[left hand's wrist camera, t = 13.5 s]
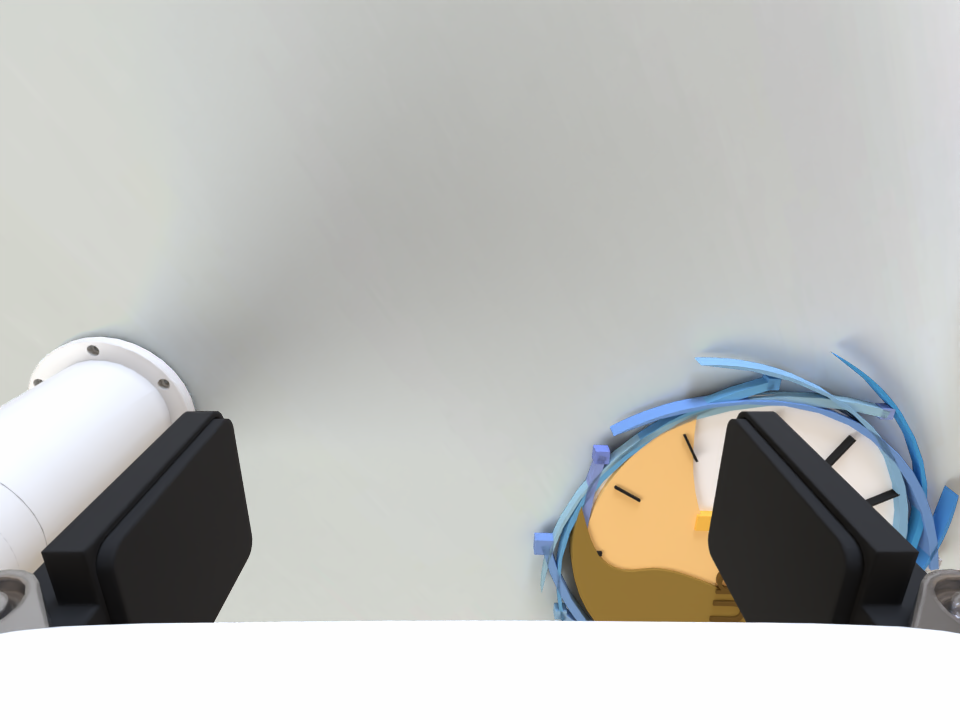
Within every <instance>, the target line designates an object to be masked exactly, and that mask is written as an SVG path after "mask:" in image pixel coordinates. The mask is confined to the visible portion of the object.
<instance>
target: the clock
mask: <svg viewBox="0 0 960 720" xmlns="http://www.w3.org/2000/svg"><path fill="white" fill-rule="evenodd" d="M831 353H832V352H831ZM833 354H834V353H833ZM834 355H835V356H836V357H838V358H839V359H840V360H841V361H843V362H844V363H845V364H846V365H848V366H849V367H850V368H851V369H853V370H854V371H855V372H856V373H858V374H859V375H860V376H861V377H863V378H864V380H865V381H866V382H867V383H868V384H869V385H870V386H871V387H872V389H873V390H874V391H875V392H876V393H877V394H878V395H879V397H880V398H881V399H882V400H883V401H884V402H885V403H875V404H874V403H870V402H866V401H862V400H858V399H853V398H849V397H842V396H835V395H832V394H830V393H829V392H827V391H826V390H824V389H823V388H821V387H819V386H818V385H815V384H813V383H811V382H809V381H807V380H805V379H802V378H800V377H798V376H796V375H794V374H792V373H789V372H786V371H783V370H781V369H777V368H774V367H771V366H767V365H763V364H759V363H754V362H749V361H743V360H736V359H727V358H706V357H701V358H695V359H696V360H697V361H698V362H699V363H700V364H701V365H705V366H713V367H722V368H730V369H739V370H747V371H753V372H757V373H761V374H763V377H762V378H758V379H755V380H752V381H748V382H745V383H742V384H739V385H735V386H732V387H729V388H726V389H724V390H721V391H719V392H716V393H714V394H711V395H709V396H701V397H695V398H690V399H685V400H680V401H676V402H672V403H668V404H665V405H661V406H658V407H655V408H652V409H649V410H646V411H644V412H641V413H638V414H636V415H634V416H631V417H629V418H627V419H625V420H622V421H620V422H618V423H616V424H614V425H612V426H610V428H611V431H612V433H613V435H614V436H615V435H618V434H621V433H624V432H626V431H629V430H632V429H634V428H637V427H640V426H643V425H645V424H648V423H651V422H654V421H656V420H658V421H656V422H655V423H653V424H651V425H650V426H648V427H647V428H645V429H644V430H642V431H640V432H639V433H637V434H636V435H635V436H633V437H632V438H631V439H629V440H628V441H627V442H625V443H624V444H623V445H621V446H620V447H619V448H617V449H616V450H614V451H613V452H612V453H611V454H610V450H609V447H608V445H593V454H592V459H593V461H592V464H591V467H590V469H589V472H588V475H587V478H586V480H585V481H584V483H583V484H582V485H581V486H580V487H579V489H578V490H577V491H576V493H575V494H574V496H573V497H572V499H571V500H570V502H569V503H568V505H567V506H566V508H565V510H564V511H563V513H562V514H561V516H560V518H559V520H558V522H557V524H556V526H555V528H554V530H553V533H535V534H534V554H535V555H544V556H545V557H544V561H543V566H542V573H541V592H542V590H543V586H544V581H545V577H546V573H547V569H549V572H550V574H551V576H552V579H553V581H554V583H555V585H556V587H557V597H558V603H554V617H555V619H561V620H562V621H592V620H591V619H590V618H589V617H588V616H587V615H586V614H585V612H584V611H583V609H582V608H581V607H580V605H579V604H578V602H577V601H576V599H575V598H574V597H573V595H572V594H571V592H570V590H569V588H568V586H567V584H566V582H565V580H564V578H563V576H562V574H561V566H562V557H563V554H564V551H565V548H566V544H567V541H568V538H569V535H570V557H571V563H572V569H573V574H574V579H575V583H576V586H577V589H578V592H579V595H580V597H581V599H582V601H583V603H584V605H585V607H586V609H587V611H588V613H589V614H590V615H591V617H592V618H593V620H594V621H625V622H736V623H746V621H745V619H744V617H743V616H742V614H741V612H740V610H739V608H738V606H737V604H736V602H735V601H734V599H733V597H732V595H731V593H730V591H729V589H728V587H727V586H726V584H725V582H724V580H723V578H722V576H721V574H720V572H719V571H718V569H717V567H716V565H715V563H714V561H713V559H712V557H711V555H710V552H709V547H708V533H709V528H710V522H711V516H712V510H713V504H714V498H715V492H716V487H717V481H718V475H719V469H720V463H721V457H722V452H723V446H724V440H725V434H726V428H727V424H728V422H729V420H731V419H736V418H737V416H738V414H739V413H740V412H742V411H774V412H775V413H777V414H778V415H779V416H780V417H781V418H782V419H783V420H784V421H785V422H786V423H787V424H788V425H789V426H790V427H791V428H792V429H793V430H794V431H795V432H796V433H797V434H798V435H799V436H800V437H802V438H803V439H804V440H805V441H806V442H807V443H808V444H809V445H810V446H811V447H812V448H813V449H814V450H815V451H816V452H817V453H818V454H819V455H820V456H821V457H822V458H823V459H824V460H825V461H826V462H827V463H828V464H829V465H830V466H831V467H832V468H833V469H834V470H835V471H836V472H837V473H838V474H840V475H841V476H842V477H843V478H844V479H845V480H846V481H847V482H848V483H849V484H850V485H851V486H852V487H853V488H854V489H855V490H856V491H857V492H858V493H859V494H860V495H861V496H862V497H863V498H864V499H865V500H866V501H867V502H868V503H869V504H870V505H871V506H872V507H873V508H874V509H875V510H876V511H878V512H879V513H880V514H881V515H882V516H883V517H884V518H885V519H886V520H887V521H888V522H889V523H890V524H891V525H892V526H893V527H894V528H895V529H896V530H897V531H898V532H899V533H900V534H901V535H902V536H903V537H904V538H905V539H906V540H907V541H908V542H909V543H910V544H911V545H912V546H913V547H914V548H916V549H917V550H918V551H919V554H918V557H917V560H916V563H917V564H918V565H919V566H920V567H921V568H922V569H923V570H924V571H935V570H938V569H939V567H940V564H941V562H942V560H941V559H940V558H939V557H938V549H939V547H940V545H941V543H942V541H943V539H944V537H945V535H946V533H947V530H948V528H949V525H950V523H951V520H952V517H953V515H954V511H955V508H956V504H957V501H958V495H957V494H956V493H954V492H953V491H952V490H950V489H949V488H948V487H947V486H945V487H944V489H943V492H942V494H941V497H940V499H939V502H938V504H937V507H936V509H935V512H934V515H933V516H932V513H931V510H930V507H929V504H928V501H927V482H926V476H925V470H924V464H923V460H922V457H921V454H920V451H919V448H918V445H917V442H916V440H915V437H914V435H913V433H912V431H911V430H910V428H909V426H908V424H907V422H906V420H905V419H904V417H903V415H902V413H901V412H900V410H899V409H898V407H897V406H896V405H895V403H894V402H893V401H892V400H891V398H890V397H889V396H888V395H887V394H886V393H885V392H884V390H883V389H882V388H881V387H880V386H879V385H877V384H876V383H875V382H874V381H873V380H872V379H871V378H870V377H868V376H867V375H866V374H865V373H863V372H862V371H861V370H859V369H858V368H856V367H855V366H853V365H852V364H850V363H849V362H847V361H846V360H844V359H843V358H841V357H839V356H838V355H836V354H834ZM781 379H784V380H788V381H792V382H794V383H797V384H799V385H801V386H803V387H806V388H808V389H810V390H813V391H815V392H817V393H810V392H782V391H781V392H766V393H762V392H765V391H769V390H779V388H780V384H781ZM837 409H843V410H847V411H848V412H849V413H850V414H851V415H852V416H853V417H854V418H852V417H851V416H849V415H848V414H845V413H843V412H841V411H838V410H837ZM857 412H859V413H864V414H868V415H873V416H877V417H878V418H879V419H893V417H894V418H895V420H896V421H897V423H898V425H899V427H900V428H901V430H902V432H903V434H904V437H905V440H906V443H907V447H908V450H909V453H910V456H911V459H912V467H913V471H912V470H911V469H910V467H909V466H908V465H907V463H906V462H905V461H904V460H903V458H902V457H901V456H900V455H899V453H898V452H896V451H895V450H894V449H893V448H892V447H891V446H890V445H889V444H888V443H886V442H885V441H884V440H883V439H882V438H881V436H880V435H879V434H878V433H877V431H876V430H875V429H874V428H873V427H872V425H870V424H869V423H868V422H867V421H866V420H865V419H863V418H862V417H861V416H860V415H859V414H858V413H857ZM906 494H907V495H906ZM907 497H908V499H909V501H910V505H911V515H910V519H909V522H908V503H907ZM562 529H563V530H562ZM561 532H562V533H561ZM560 534H561V537H560V542H559V547H558V551H557V559H556V561H555V558H554V555H553V551H554V548H555V546H556V543H557V541H558V539H559V536H560ZM561 597H562V599H563V601H564V602H565V603H562V600H561ZM566 605H567V607H568V609H569V610H570V611H569V610H568V609H567V608H566Z"/></svg>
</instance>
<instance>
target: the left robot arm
mask: <svg viewBox="0 0 960 720" xmlns="http://www.w3.org/2000/svg"><path fill="white" fill-rule="evenodd" d="M251 547H252V533H251V528H250V522H249V516H248V510H247V504H246V498H245V493H244V487H243V481H242V475H241V469H240V463H239V458H238V452H237V446H236V440H235V434H234V428H233V424H232V422H231V420H229V419H224V418H223V416H222V414H221V413H220V412H218V411H195V408H194V405H193V402H192V398H191V396H190V394H189V392H188V390H187V388H186V387H185V385H184V383H183V382H182V381H181V379H180V378H179V377H178V375H177V374H176V373H175V372H174V371H173V370H172V369H171V368H170V367H169V366H168V365H167V364H166V363H165V362H164V361H163V360H161V359H160V358H158V357H157V356H155V355H154V354H153V353H151V352H150V351H148V350H146V349H144V348H142V347H140V346H137V345H135V344H133V343H130V342H126V341H123V340H120V339H115V338H107V337H86V338H82V339H78V340H74V341H71V342H69V343H66V344H64V345H62V346H60V347H58V348H56V349H55V350H53V351H52V352H50V353H49V354H47V355H46V356H45V357H44V358H43V359H42V360H41V361H40V362H39V363H38V364H37V366H36V368H35V370H34V371H33V373H32V375H31V378H30V382H29V386H28V391H26V392H24V393H23V394H21V395H19V396H17V397H16V398H14V399H12V400H11V401H9V402H7V403H6V404H4V405H2V406H0V720H960V570H953V569H947V570H935V571H933V572H931V573H928V574H927V573H926V572H925V571H924V570H923V569H922V568H921V567H920V566H919V565H918V564H917V563H916V560H917V557H918V554H919V551H918V550H917V549H916V548H914V547H913V546H912V545H911V544H910V543H909V542H908V541H907V540H906V539H905V538H904V537H903V536H902V535H901V534H900V533H899V532H898V531H897V530H896V529H895V528H894V527H893V526H892V525H891V524H890V523H889V522H888V521H887V520H886V519H885V518H884V517H883V516H882V515H881V514H880V513H879V512H878V511H876V510H875V509H874V508H873V507H872V506H871V505H870V504H869V503H868V502H867V501H866V500H865V499H864V498H863V497H862V496H861V495H860V494H859V493H858V492H857V491H856V490H855V489H854V488H853V487H852V486H851V485H850V484H849V483H848V482H847V481H846V480H845V479H844V478H843V477H842V476H841V475H840V474H838V473H837V472H836V471H835V470H834V469H833V468H832V467H831V466H830V465H829V464H828V463H827V462H826V461H825V460H824V459H823V458H822V457H821V456H820V455H819V454H818V453H817V452H816V451H815V450H814V449H813V448H812V447H811V446H810V445H809V444H808V443H807V442H806V441H805V440H804V439H803V438H802V437H800V436H799V435H798V434H797V433H796V432H795V431H794V430H793V429H792V428H791V427H790V426H789V425H788V424H787V423H786V422H785V421H784V420H783V419H782V418H781V417H780V416H779V415H778V414H777V413H775V412H774V411H742V412H740V413H739V414H738V416H737V418H736V419H731V420H729V422H728V424H727V428H726V434H725V440H724V446H723V452H722V457H721V463H720V469H719V475H718V481H717V487H716V492H715V498H714V504H713V510H712V516H711V522H710V528H709V533H708V547H709V552H710V555H711V557H712V559H713V561H714V563H715V565H716V567H717V569H718V571H719V572H720V574H721V576H722V578H723V580H724V582H725V584H726V586H727V587H728V589H729V591H730V593H731V595H732V597H733V599H734V601H735V602H736V604H737V606H738V608H739V610H740V612H741V614H742V616H743V617H744V619H745V621H746V623H736V622H625V621H321V622H234V623H214V621H215V619H216V617H217V616H218V614H219V612H220V610H221V608H222V606H223V604H224V602H225V601H226V599H227V597H228V595H229V593H230V591H231V589H232V587H233V586H234V584H235V582H236V580H237V578H238V576H239V574H240V572H241V571H242V569H243V567H244V565H245V563H246V561H247V559H248V557H249V555H250V552H251Z"/></svg>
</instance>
